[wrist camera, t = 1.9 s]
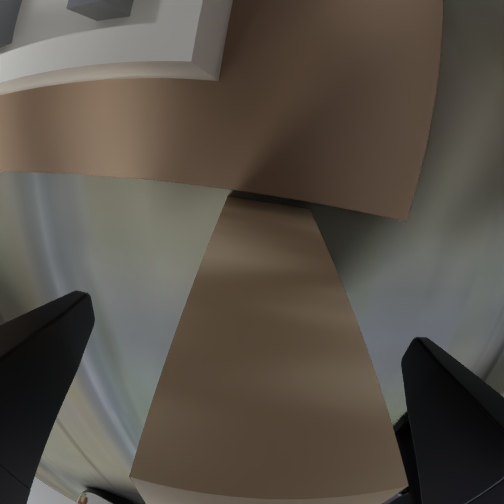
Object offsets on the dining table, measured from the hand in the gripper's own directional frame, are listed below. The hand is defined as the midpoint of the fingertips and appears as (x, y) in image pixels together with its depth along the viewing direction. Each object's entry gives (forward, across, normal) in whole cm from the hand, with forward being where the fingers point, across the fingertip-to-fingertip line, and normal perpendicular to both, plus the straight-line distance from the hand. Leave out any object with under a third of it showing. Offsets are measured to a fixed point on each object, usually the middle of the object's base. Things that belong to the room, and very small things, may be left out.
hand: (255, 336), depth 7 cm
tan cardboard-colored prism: (+3, 0, 0) cm, 3 cm away
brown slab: (+3, +7, -11) cm, 14 cm away
